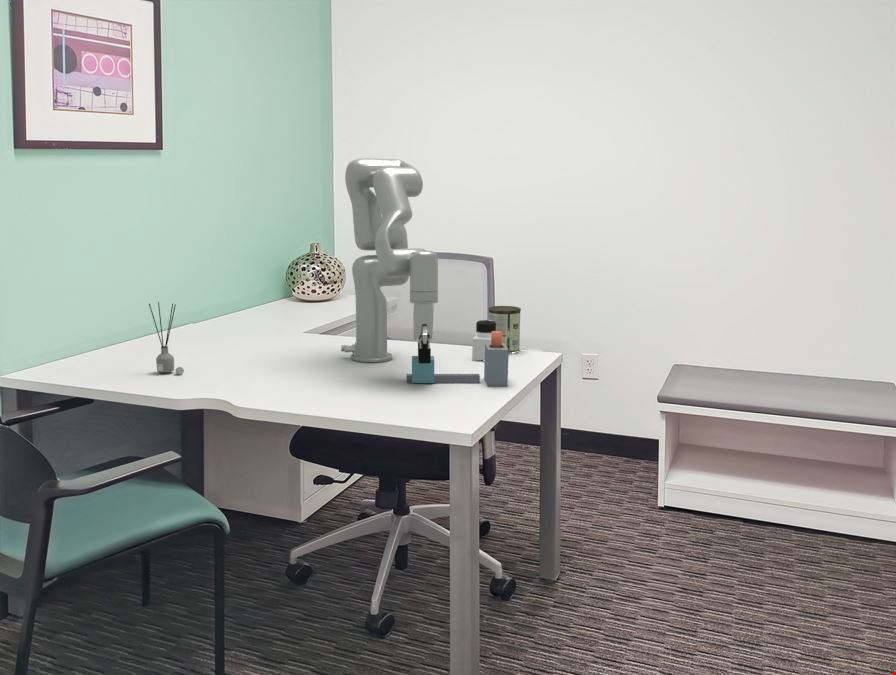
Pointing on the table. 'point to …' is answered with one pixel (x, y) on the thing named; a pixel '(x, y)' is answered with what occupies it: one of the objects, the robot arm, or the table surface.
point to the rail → (451, 378)
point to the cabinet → (496, 365)
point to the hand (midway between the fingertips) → (424, 359)
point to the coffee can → (507, 325)
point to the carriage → (422, 371)
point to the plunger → (496, 339)
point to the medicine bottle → (482, 338)
